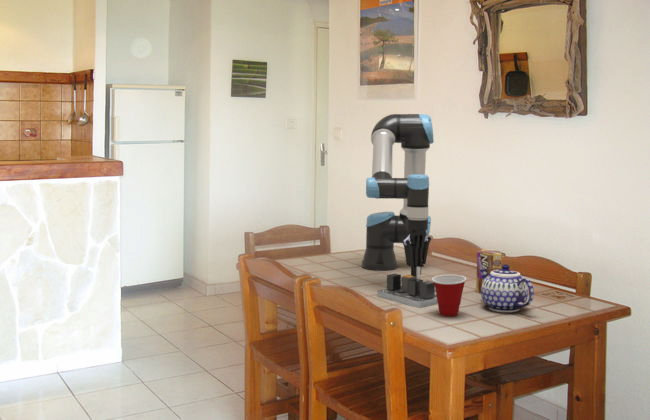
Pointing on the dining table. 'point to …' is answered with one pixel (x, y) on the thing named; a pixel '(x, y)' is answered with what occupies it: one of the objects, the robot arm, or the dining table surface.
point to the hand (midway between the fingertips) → (415, 284)
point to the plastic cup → (449, 293)
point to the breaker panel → (406, 299)
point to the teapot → (505, 290)
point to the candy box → (486, 264)
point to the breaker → (406, 282)
